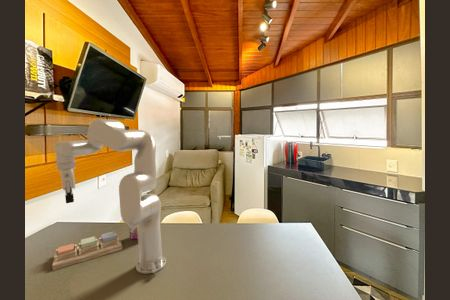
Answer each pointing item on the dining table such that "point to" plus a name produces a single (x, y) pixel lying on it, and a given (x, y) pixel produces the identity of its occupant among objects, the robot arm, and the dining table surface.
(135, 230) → the candy bar box
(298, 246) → the dining table surface
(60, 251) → the terracotta button
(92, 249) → the button panel
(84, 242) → the sage button
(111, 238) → the slate button
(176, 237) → the dining table surface
